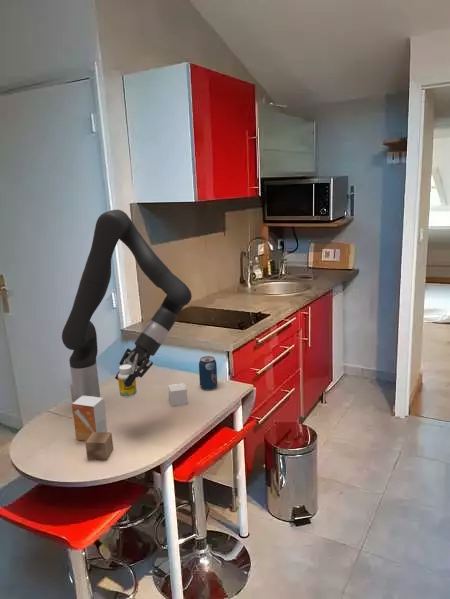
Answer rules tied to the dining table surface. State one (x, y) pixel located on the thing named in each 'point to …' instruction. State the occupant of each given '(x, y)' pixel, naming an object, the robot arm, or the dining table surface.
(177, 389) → the white cube
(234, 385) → the dining table surface
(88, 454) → the walnut cube
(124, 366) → the supplement bottle
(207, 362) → the soda can
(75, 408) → the small box
